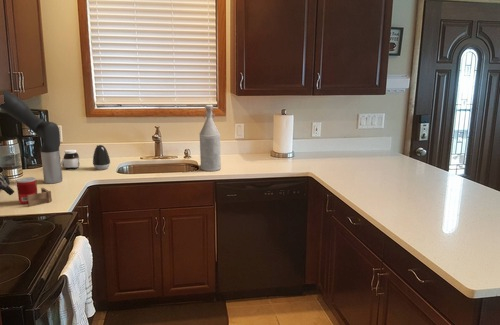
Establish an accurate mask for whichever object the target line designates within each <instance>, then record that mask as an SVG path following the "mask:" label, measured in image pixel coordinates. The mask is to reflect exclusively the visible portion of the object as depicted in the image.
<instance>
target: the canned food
mask: <svg viewBox="0 0 500 325" xmlns="http://www.w3.org/2000/svg"><path fill="white" fill-rule="evenodd" d="M16 189H17V196H18V202H19V204H20V205H28V197H27V195H32V194H38V193H39V192H38V186H37V179H36V177H33V176H28V177H22V178H18V179H16Z"/></svg>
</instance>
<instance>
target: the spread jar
mask: <svg viewBox="0 0 500 325" xmlns="http://www.w3.org/2000/svg"><path fill="white" fill-rule="evenodd" d="M60 161H61V167H64V169H65V170H67V169H74V170H77V168H78V169H79V168H80V165H81V163H80V156H79V153H77V149H65V150H64V155H63V158H62V160H60Z"/></svg>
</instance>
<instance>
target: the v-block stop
mask: <svg viewBox="0 0 500 325" xmlns="http://www.w3.org/2000/svg"><path fill="white" fill-rule="evenodd" d="M40 191H41V192H37V193H38V194H32V195H27V197H28V204H27V205H28V207H34V206H37V205H38V206H39V205H43V204H49V203H51V202H52V201H53V199H52V191H51V190H48V189H46V188H45V187H40Z"/></svg>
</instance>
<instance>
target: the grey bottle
mask: <svg viewBox="0 0 500 325" xmlns="http://www.w3.org/2000/svg"><path fill="white" fill-rule="evenodd" d="M204 109H206V111H205V113H204V115H202V116H203V118H204V119H205V122H204V123H203V126H202V128H201V130H200V132H199V152H200V155H199V156H200V159H199V160H200V170H202V171H205V172H215V171H216V172H217V171H220V170H221V169H222V167H221V166H222V165H221V164H222V163H221V133H220V131H219V130H218V127H217V126H216V123H215V122H214V119H213V118H215V116H216V114H215V113H213V110H215V107H214V105H213V104H207V105H205V107H204Z"/></svg>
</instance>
